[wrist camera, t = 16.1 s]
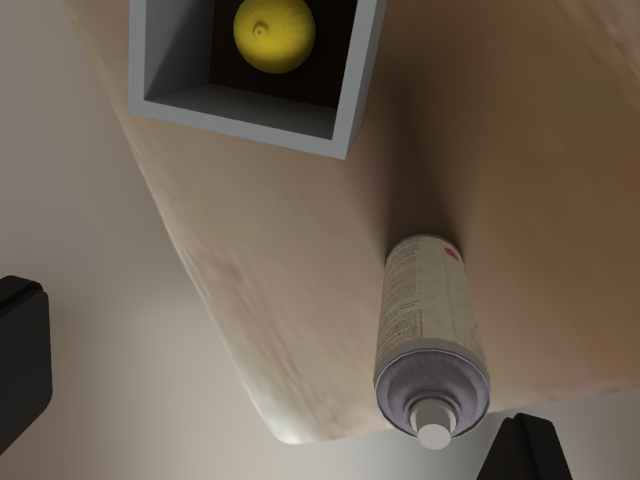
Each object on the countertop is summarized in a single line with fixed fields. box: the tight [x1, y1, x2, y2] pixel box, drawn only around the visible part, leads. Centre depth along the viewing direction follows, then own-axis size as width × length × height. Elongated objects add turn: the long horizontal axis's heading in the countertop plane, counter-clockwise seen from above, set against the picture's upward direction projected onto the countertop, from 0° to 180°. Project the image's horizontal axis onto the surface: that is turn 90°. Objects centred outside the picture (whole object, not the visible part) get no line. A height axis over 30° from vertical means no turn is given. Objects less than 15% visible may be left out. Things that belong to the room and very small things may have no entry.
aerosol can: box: [373, 233, 491, 449], centre depth 35 cm, size 7×7×20 cm
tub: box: [128, 0, 388, 160], centre depth 33 cm, size 14×12×11 cm
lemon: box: [233, 0, 316, 74], centre depth 35 cm, size 6×6×8 cm
